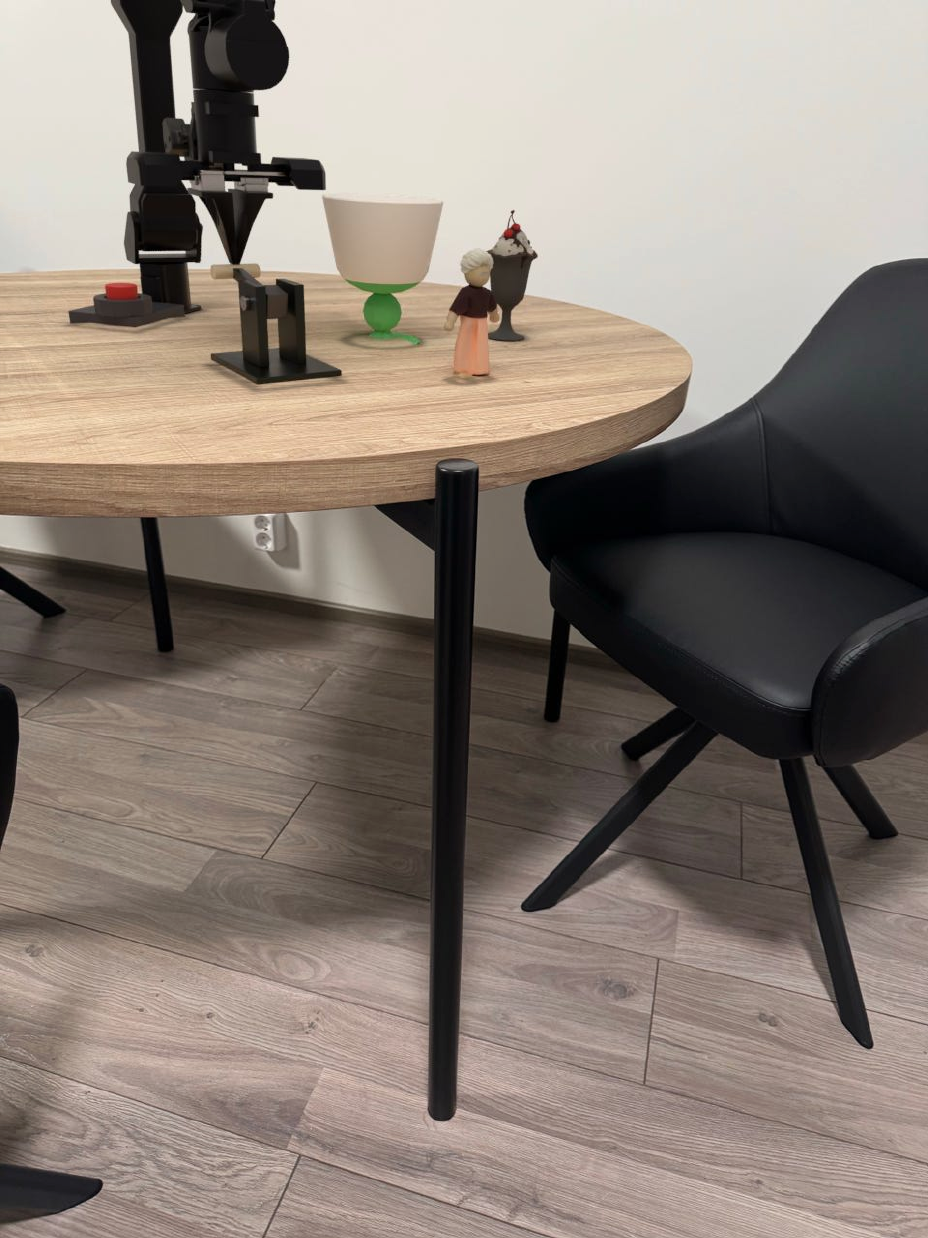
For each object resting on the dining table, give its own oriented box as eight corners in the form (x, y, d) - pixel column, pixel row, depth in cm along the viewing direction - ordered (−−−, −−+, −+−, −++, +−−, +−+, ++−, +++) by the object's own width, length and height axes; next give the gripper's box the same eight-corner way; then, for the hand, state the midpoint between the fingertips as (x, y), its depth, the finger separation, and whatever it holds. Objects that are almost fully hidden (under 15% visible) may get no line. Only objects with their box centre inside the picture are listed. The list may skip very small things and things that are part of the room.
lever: (210, 281, 95) (209, 257, 94) (255, 279, 98) (255, 256, 96) (253, 320, 88) (253, 295, 87) (300, 317, 91) (301, 293, 89)
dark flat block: (123, 312, 119) (120, 283, 118) (186, 318, 117) (184, 289, 116) (66, 326, 109) (61, 295, 107) (134, 333, 107) (130, 302, 105)
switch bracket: (211, 364, 95) (203, 275, 91) (290, 357, 100) (286, 272, 95) (257, 391, 86) (251, 293, 82) (342, 381, 91) (340, 289, 87)
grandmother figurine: (468, 388, 91) (475, 252, 85) (436, 381, 93) (440, 248, 87) (506, 375, 97) (514, 247, 91) (475, 369, 99) (482, 243, 93)
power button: (118, 296, 111) (116, 281, 110) (144, 299, 110) (142, 284, 109) (100, 300, 108) (98, 285, 107) (127, 303, 107) (125, 287, 106)
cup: (301, 337, 110) (296, 193, 102) (385, 326, 119) (386, 192, 111) (378, 358, 102) (379, 202, 94) (462, 344, 111) (468, 201, 103)
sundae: (495, 343, 112) (503, 210, 105) (470, 333, 117) (476, 205, 110) (541, 341, 115) (552, 211, 108) (514, 331, 120) (523, 206, 113)
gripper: (285, 98, 98) (290, 253, 105) (104, 85, 89) (124, 255, 97) (326, 97, 90) (329, 266, 97) (131, 83, 81) (151, 269, 88)
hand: (234, 263), depth 95 cm, fingers closed
